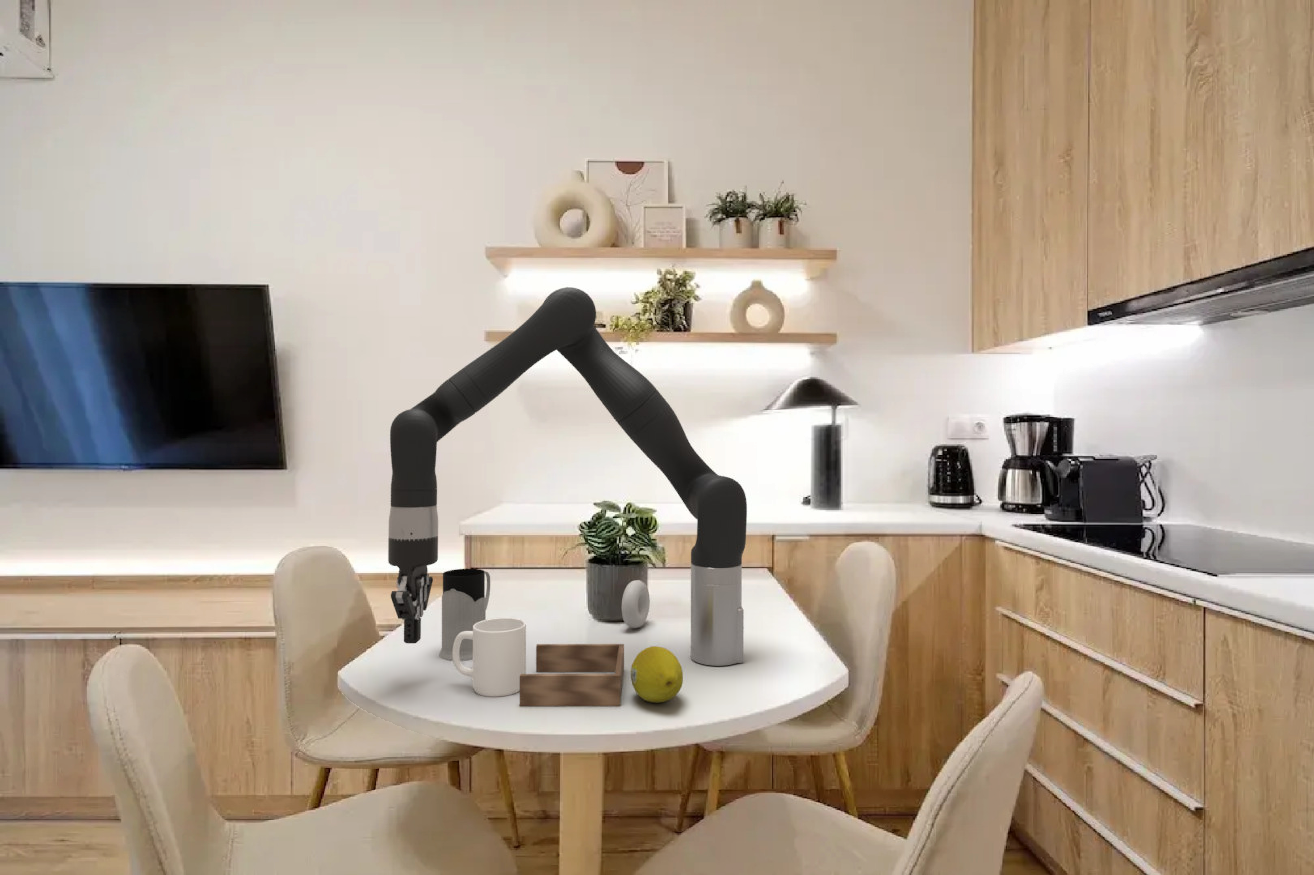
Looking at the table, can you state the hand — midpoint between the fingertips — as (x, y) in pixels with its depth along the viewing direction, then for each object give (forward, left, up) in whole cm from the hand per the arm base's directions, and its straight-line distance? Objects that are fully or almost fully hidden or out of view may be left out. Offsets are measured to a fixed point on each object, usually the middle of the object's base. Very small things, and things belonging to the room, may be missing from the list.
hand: (412, 641), depth 109 cm
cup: (-12, 0, -8) cm, 14 cm away
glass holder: (-4, -20, -8) cm, 22 cm away
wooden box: (-26, 0, -7) cm, 27 cm away
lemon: (-39, +6, -8) cm, 40 cm away
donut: (-35, -34, -8) cm, 50 cm away
